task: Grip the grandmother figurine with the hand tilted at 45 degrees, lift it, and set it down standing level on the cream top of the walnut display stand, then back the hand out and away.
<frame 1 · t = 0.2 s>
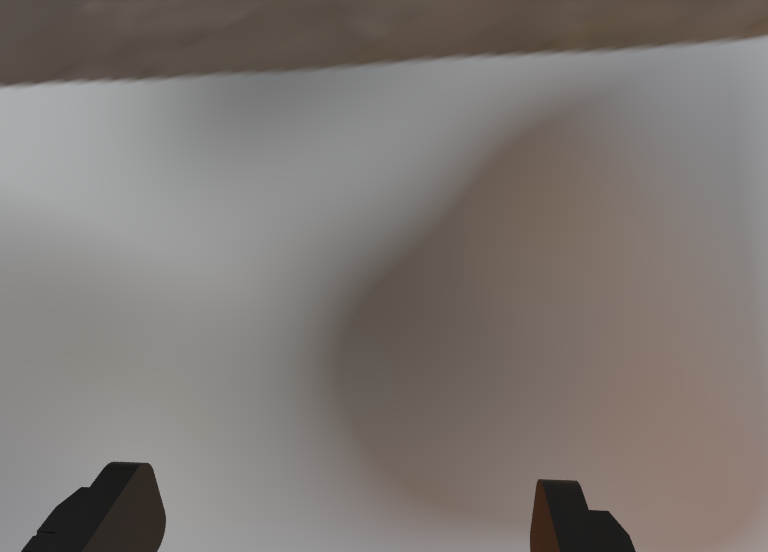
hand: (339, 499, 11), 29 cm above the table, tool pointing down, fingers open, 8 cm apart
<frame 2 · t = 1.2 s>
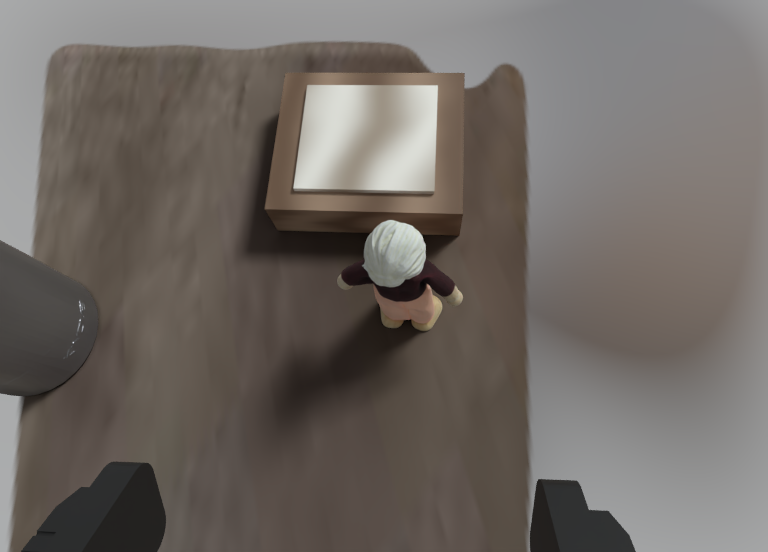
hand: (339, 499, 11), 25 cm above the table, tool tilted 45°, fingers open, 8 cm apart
grandmother figurine: (402, 310, 38), on the table
display stand: (372, 164, 42), on the table
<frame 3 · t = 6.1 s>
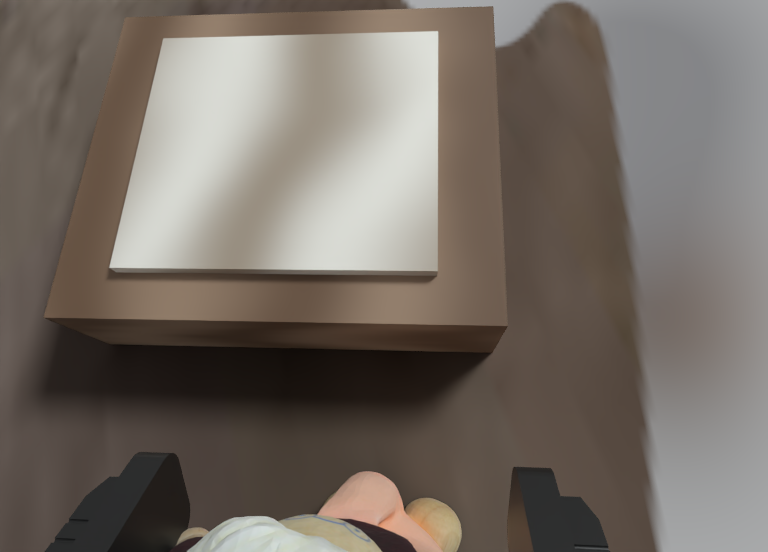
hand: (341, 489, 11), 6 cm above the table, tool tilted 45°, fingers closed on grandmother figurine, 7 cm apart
grandmother figurine: (370, 535, 17), on the table, touching gripper
display stand: (309, 200, 21), on the table
when the fingers open (12 cm above the table, at t = 11.7 s): grandmother figurine drops 1 cm, resting on display stand.
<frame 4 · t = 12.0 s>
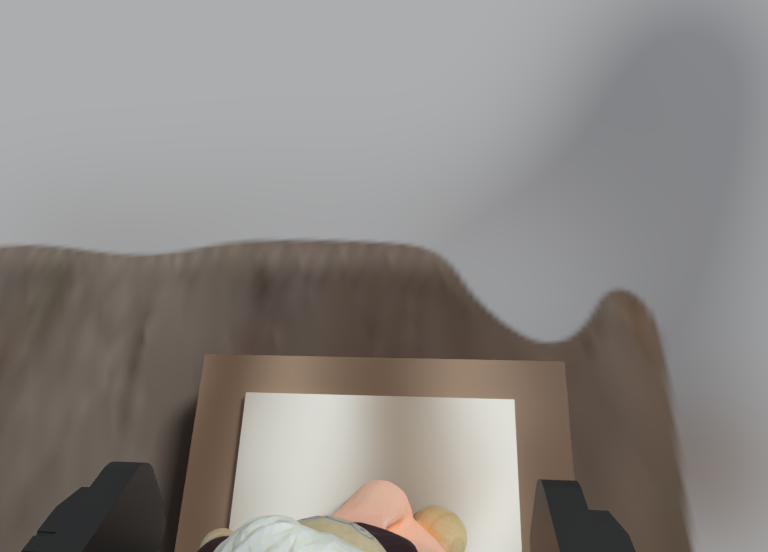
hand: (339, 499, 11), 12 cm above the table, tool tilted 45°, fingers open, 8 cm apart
grandmother figurine: (382, 540, 18), point 4 cm above the table, touching display stand
display stand: (381, 519, 22), on the table
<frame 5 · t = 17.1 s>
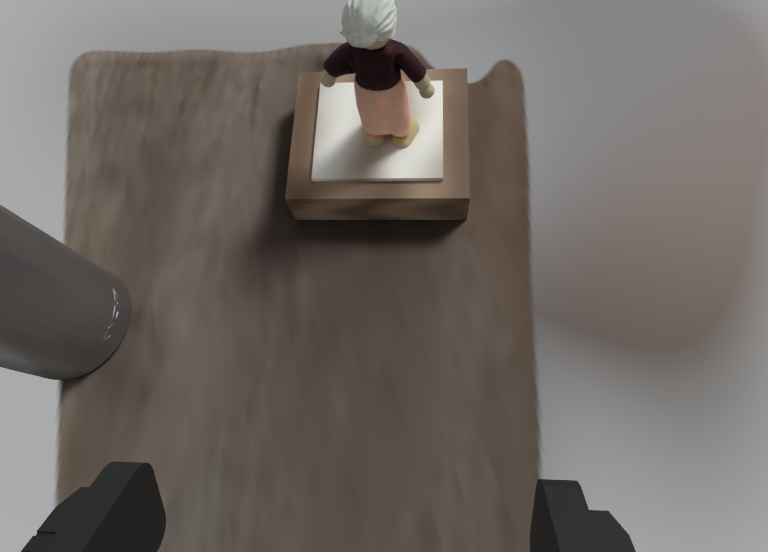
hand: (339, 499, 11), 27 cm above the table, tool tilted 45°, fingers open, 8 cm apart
grandmother figurine: (383, 133, 41), point 4 cm above the table, touching display stand
display stand: (382, 156, 45), on the table
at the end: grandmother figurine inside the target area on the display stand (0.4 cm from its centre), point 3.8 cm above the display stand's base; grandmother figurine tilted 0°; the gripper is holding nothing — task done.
